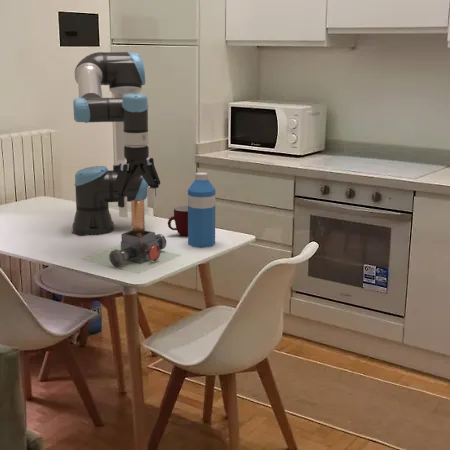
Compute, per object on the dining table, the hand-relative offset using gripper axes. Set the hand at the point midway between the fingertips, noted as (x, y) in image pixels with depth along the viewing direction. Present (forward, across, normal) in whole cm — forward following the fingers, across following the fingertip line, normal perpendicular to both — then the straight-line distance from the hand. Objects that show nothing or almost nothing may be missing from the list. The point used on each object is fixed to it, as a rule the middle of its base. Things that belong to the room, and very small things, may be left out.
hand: (137, 212), depth 217 cm
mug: (+16, +30, +4) cm, 34 cm away
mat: (+16, 0, +2) cm, 16 cm away
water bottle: (+16, +24, -8) cm, 30 cm away
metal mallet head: (+15, 0, -2) cm, 15 cm away
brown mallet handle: (+9, 0, 0) cm, 9 cm away
